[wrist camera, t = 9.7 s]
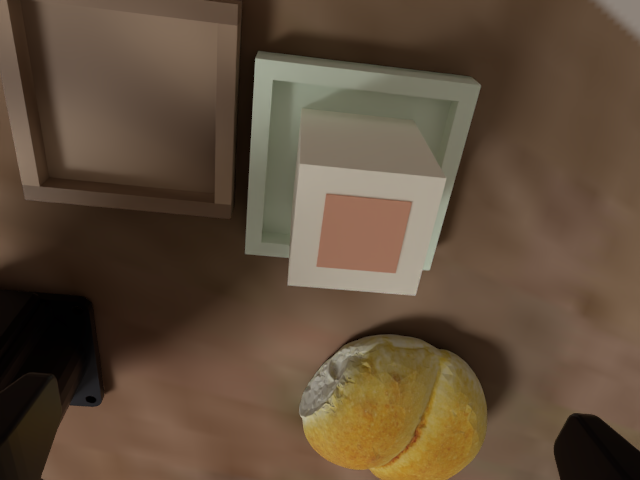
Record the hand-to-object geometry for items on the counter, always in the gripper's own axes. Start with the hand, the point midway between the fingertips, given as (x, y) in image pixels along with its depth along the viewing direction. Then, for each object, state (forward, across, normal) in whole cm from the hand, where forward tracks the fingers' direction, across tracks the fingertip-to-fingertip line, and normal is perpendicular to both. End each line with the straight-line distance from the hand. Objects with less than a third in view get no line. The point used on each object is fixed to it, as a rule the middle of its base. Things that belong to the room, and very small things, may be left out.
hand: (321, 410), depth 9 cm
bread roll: (+12, -6, +12) cm, 18 cm away
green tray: (+12, -2, 0) cm, 12 cm away
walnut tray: (+12, +7, -1) cm, 14 cm away
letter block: (+12, -1, 0) cm, 12 cm away
